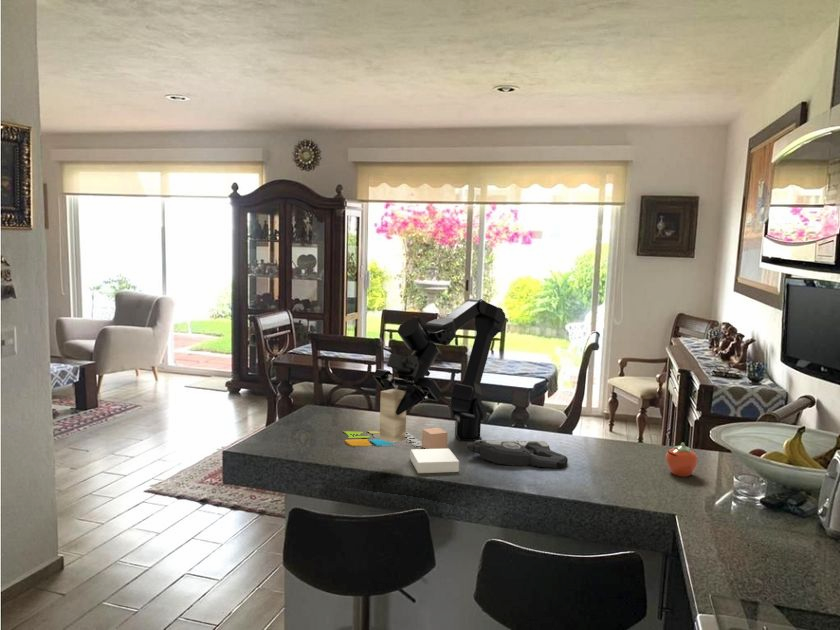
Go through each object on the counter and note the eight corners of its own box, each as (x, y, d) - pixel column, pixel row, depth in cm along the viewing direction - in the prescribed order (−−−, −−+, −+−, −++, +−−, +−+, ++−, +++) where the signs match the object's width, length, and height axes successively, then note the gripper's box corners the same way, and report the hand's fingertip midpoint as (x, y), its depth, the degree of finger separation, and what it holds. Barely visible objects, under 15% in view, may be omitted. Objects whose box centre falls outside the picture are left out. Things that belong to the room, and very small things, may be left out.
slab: (448, 459, 155) (448, 448, 155) (458, 473, 146) (459, 461, 145) (410, 460, 153) (410, 449, 153) (417, 474, 144) (418, 462, 143)
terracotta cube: (438, 445, 166) (438, 427, 166) (446, 450, 162) (447, 432, 161) (421, 447, 164) (422, 429, 163) (430, 452, 159) (431, 434, 159)
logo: (426, 444, 165) (357, 451, 156) (426, 447, 165) (357, 455, 156) (394, 422, 185) (331, 427, 177) (394, 425, 185) (331, 431, 177)
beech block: (391, 435, 151) (393, 388, 150) (405, 439, 149) (406, 391, 147) (379, 439, 148) (380, 391, 147) (393, 443, 145) (394, 394, 144)
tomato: (658, 468, 153) (660, 438, 152) (685, 468, 154) (688, 437, 153) (674, 479, 145) (677, 447, 145) (703, 479, 146) (705, 447, 146)
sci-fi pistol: (575, 457, 151) (548, 435, 165) (484, 457, 144) (464, 434, 158) (572, 474, 152) (545, 451, 166) (482, 474, 145) (462, 450, 159)
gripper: (378, 337, 155) (346, 386, 148) (435, 346, 143) (403, 399, 136) (398, 364, 162) (368, 412, 154) (454, 374, 150) (424, 426, 142)
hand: (389, 412), depth 147 cm, fingers closed on beech block, 4 cm apart
